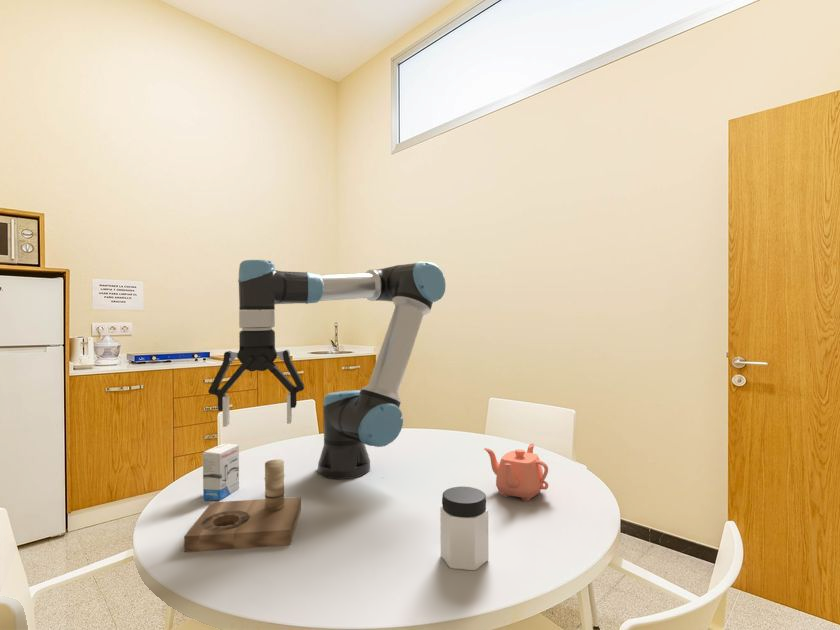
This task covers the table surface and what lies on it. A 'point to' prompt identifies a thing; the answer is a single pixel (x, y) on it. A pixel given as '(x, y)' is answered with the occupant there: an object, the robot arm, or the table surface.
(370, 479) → the table surface
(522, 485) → the teapot
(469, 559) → the jar
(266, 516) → the board
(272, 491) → the dowel
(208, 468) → the ink box
